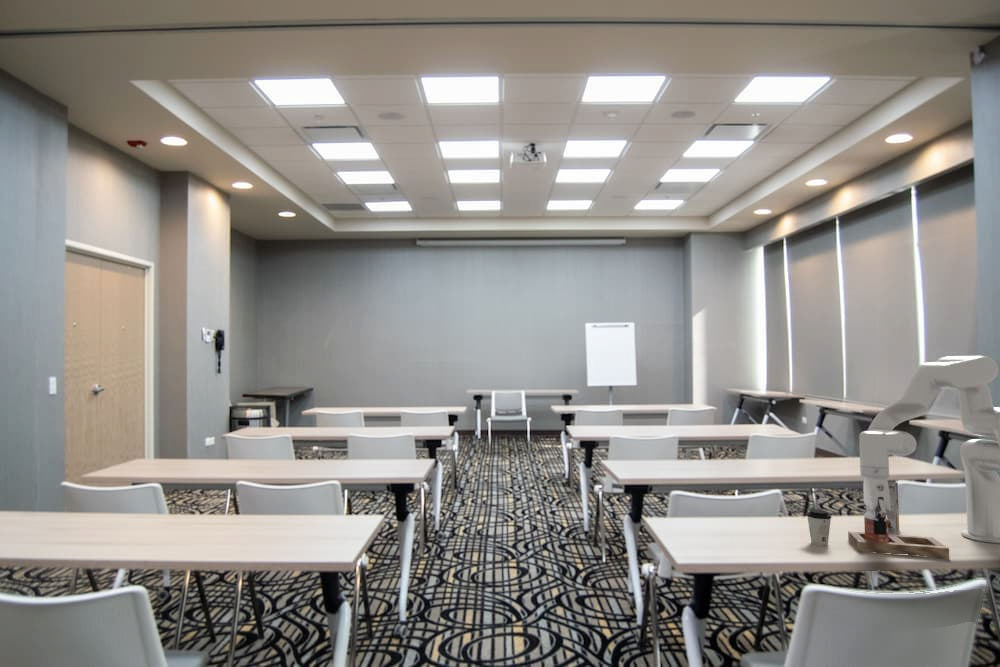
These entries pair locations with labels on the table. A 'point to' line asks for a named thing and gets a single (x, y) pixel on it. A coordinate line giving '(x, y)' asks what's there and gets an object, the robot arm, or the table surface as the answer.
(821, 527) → the coffee cup
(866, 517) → the pill bottle
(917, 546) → the holder frame
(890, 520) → the coffee box
